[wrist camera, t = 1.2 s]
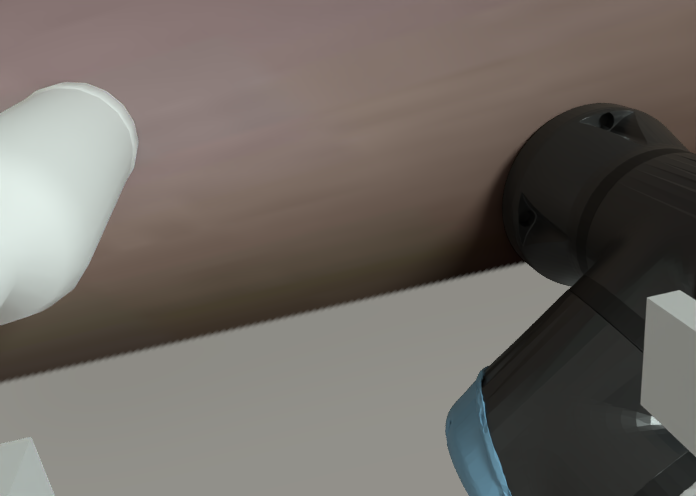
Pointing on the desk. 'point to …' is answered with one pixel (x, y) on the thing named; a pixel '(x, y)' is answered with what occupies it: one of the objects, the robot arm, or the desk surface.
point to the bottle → (57, 189)
